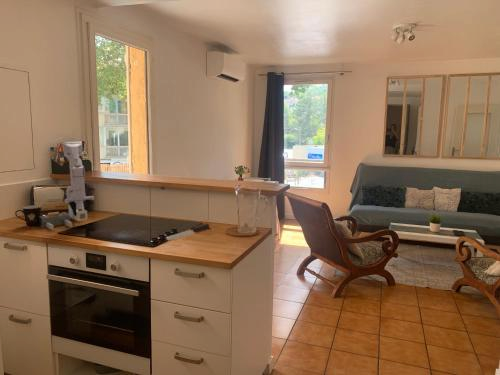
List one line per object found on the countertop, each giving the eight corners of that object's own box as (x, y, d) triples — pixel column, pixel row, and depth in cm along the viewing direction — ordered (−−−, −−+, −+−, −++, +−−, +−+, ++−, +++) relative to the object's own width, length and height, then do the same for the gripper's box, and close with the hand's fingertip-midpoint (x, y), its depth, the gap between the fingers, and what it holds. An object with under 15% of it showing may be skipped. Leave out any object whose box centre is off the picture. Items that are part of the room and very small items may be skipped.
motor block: (39, 225, 203) (38, 214, 202) (66, 221, 213) (66, 210, 212) (42, 227, 199) (41, 216, 198) (70, 223, 208) (69, 212, 207)
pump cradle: (45, 227, 200) (44, 222, 200) (67, 223, 207) (67, 219, 207) (50, 230, 193) (49, 225, 193) (73, 226, 201) (73, 222, 201)
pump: (74, 219, 204) (73, 208, 203) (84, 217, 208) (83, 207, 207) (78, 221, 200) (77, 210, 199) (88, 219, 203) (87, 209, 202)
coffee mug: (46, 223, 208) (44, 205, 206) (35, 227, 199) (34, 208, 198) (26, 222, 209) (24, 205, 208) (15, 226, 201) (13, 208, 199)
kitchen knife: (170, 240, 176) (163, 235, 178) (170, 244, 176) (162, 240, 179) (213, 225, 199) (206, 222, 201) (212, 230, 200) (205, 226, 202)
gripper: (67, 192, 194) (68, 218, 196) (95, 189, 204) (97, 213, 206) (62, 190, 199) (64, 215, 201) (90, 187, 209) (92, 211, 211)
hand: (80, 214), depth 204 cm, fingers closed on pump, 5 cm apart
